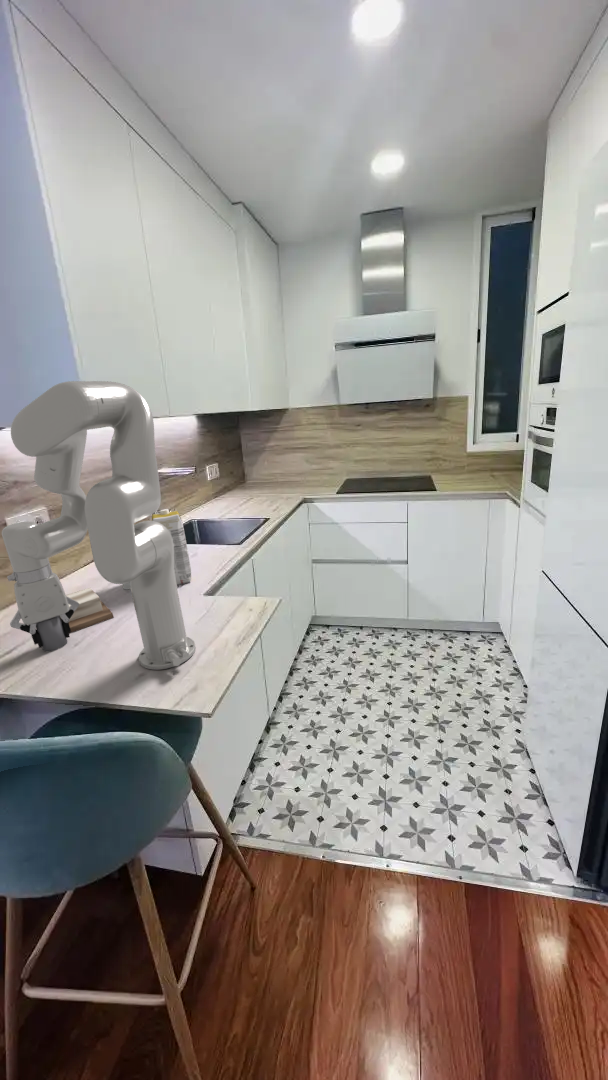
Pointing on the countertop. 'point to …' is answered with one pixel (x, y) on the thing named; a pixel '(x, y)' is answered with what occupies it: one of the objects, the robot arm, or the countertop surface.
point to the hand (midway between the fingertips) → (53, 639)
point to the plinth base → (91, 619)
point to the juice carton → (176, 544)
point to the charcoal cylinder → (51, 634)
